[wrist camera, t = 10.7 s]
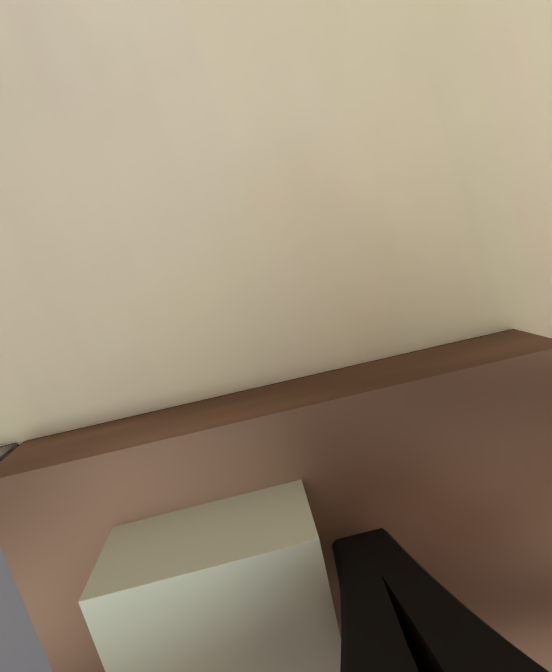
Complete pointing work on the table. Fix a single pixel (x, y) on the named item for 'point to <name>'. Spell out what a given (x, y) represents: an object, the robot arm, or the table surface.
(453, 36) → the table surface
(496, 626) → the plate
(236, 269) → the table surface
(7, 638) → the box
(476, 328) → the table surface
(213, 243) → the table surface
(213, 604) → the tile green
